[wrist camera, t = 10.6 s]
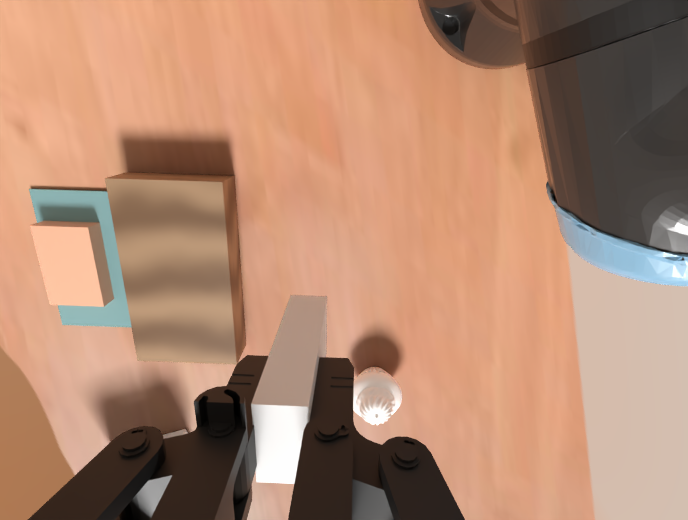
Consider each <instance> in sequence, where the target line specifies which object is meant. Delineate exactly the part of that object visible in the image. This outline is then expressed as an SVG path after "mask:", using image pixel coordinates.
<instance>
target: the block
mask: <svg viewBox="0 0 688 520" xmlns="http://www.w3.org/2000/svg"><path fill="white" fill-rule="evenodd" d="M30 229H31V233H32V237H33V241H34V244H35V248H36V252H37V256H38V260H39V264H40V268H41V272H42V276H43V280H44V284H45V288H46V292H47V296H48V300H49V304H50V305H69V306H96V307H104V306H106V305H107V304H108V303H109V302H111V301H112V300H113V299H114V295H113V290H112V285H111V279H110V274H109V269H108V264H107V258H106V253H105V248H104V243H103V237H102V232H101V227H100V223H99V222H69V221H42V222H39V223H36V224H33V225H30Z"/></svg>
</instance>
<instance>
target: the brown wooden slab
mask: <svg viewBox="0 0 688 520" xmlns="http://www.w3.org/2000/svg"><path fill="white" fill-rule="evenodd" d="M105 182H106V188H107V193H108V199H109V204H110V210H111V215H112V221H113V227H114V232H115V238H116V243H117V249H118V254H119V260H120V265H121V271H122V277H123V282H124V288H125V293H126V299H127V304H128V310H129V315H130V321H131V327H132V332H133V338H134V343H135V349H136V354H137V360H138V361H156V362H184V363H211V364H237V363H238V361H239V359H240V356H241V354H242V352H243V350H244V348H245V346H246V338H245V323H244V308H243V294H242V279H241V264H240V250H239V235H238V220H237V205H236V191H235V176H230V175H198V174H165V173H132V172H127V173H123V174H120V175H116V176H112V177H108V178H105Z"/></svg>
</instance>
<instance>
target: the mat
mask: <svg viewBox="0 0 688 520" xmlns="http://www.w3.org/2000/svg"><path fill="white" fill-rule="evenodd" d="M29 191H30V195H31V199H32V203H33V207H34V211H35V215H36V219H37V223H39V222H42V221H69V222H99V223H100V227H101V232H102V237H103V243H104V248H105V253H106V258H107V264H108V269H109V274H110V279H111V285H112V290H113V295H114V299H113V300H112V301H111V302H109V303H108V304H107V305H106V306H104V307H96V306H69V305H58V308H59V312H60V316H61V320H62V324H63V325H81V326H109V327H131V321H130V315H129V310H128V304H127V299H126V293H125V288H124V282H123V277H122V271H121V265H120V260H119V254H118V249H117V243H116V238H115V232H114V227H113V221H112V215H111V210H110V204H109V199H108V193H107V191H89V190H57V189H29Z"/></svg>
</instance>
